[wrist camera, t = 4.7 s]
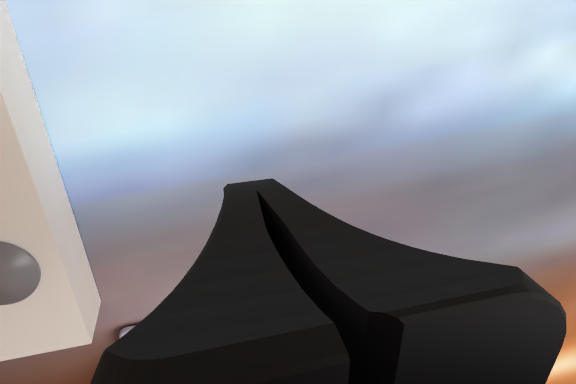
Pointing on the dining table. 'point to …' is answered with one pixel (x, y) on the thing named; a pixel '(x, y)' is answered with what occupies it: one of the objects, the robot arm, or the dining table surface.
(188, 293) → the robot arm
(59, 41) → the dining table surface
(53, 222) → the beige switch box
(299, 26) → the dining table surface
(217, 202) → the dining table surface
